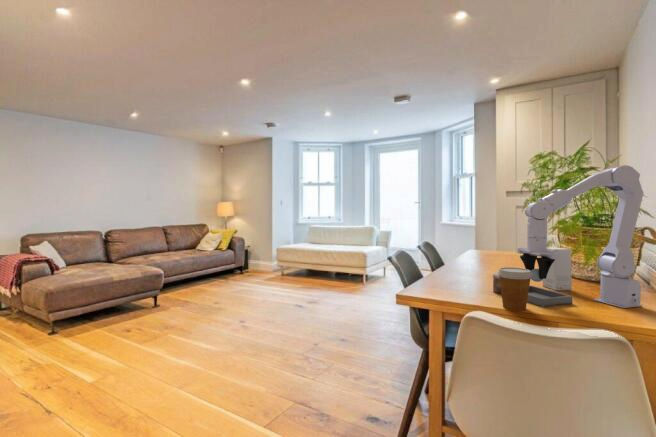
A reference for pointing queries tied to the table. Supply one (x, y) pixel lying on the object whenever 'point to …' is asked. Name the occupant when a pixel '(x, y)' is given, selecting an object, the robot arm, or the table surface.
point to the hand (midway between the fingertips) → (536, 277)
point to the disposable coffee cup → (514, 287)
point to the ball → (535, 275)
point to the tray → (547, 297)
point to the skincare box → (559, 271)
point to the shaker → (496, 284)
